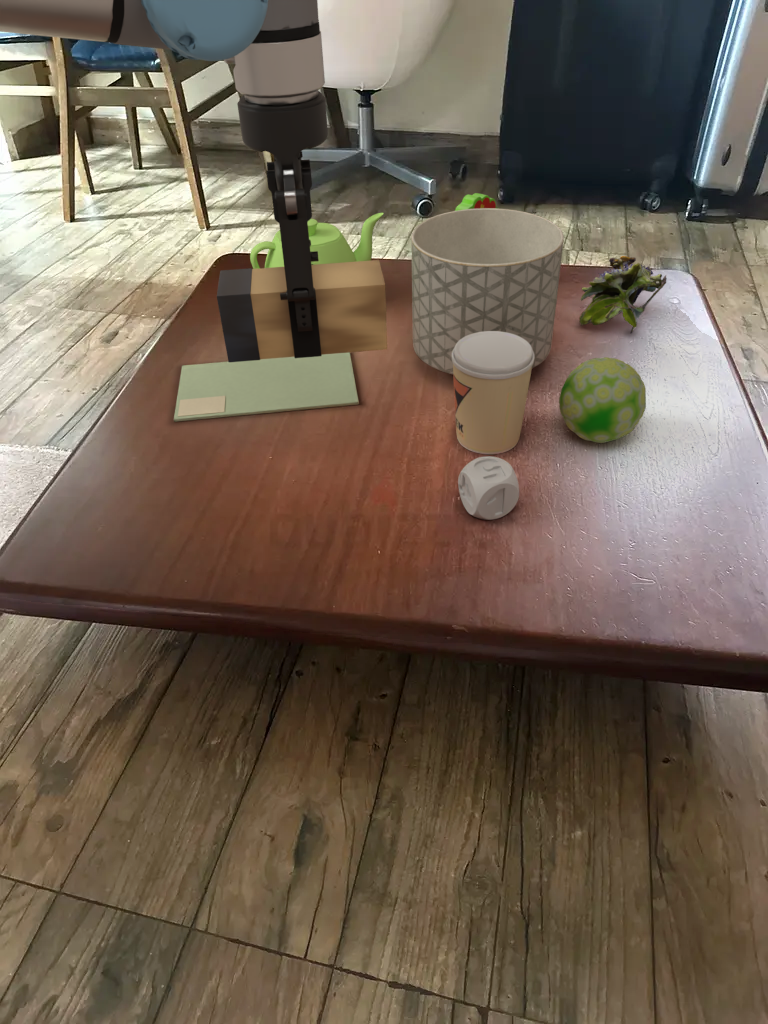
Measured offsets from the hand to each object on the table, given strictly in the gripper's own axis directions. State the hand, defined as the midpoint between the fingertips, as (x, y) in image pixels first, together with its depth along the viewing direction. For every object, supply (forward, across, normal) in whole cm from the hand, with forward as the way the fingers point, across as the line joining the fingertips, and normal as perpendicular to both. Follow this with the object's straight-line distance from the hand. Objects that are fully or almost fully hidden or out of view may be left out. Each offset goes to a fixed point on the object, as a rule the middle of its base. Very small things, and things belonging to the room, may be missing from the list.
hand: (307, 339), depth 81 cm
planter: (+17, -22, +23) cm, 36 cm away
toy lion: (+17, -44, +25) cm, 53 cm away
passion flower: (+17, -30, +46) cm, 58 cm away
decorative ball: (+17, -2, +34) cm, 38 cm away
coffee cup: (+17, -4, +21) cm, 27 cm away
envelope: (+17, -20, -6) cm, 27 cm away
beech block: (0, 0, 0) cm, 0 cm away
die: (+17, +10, +18) cm, 27 cm away
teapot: (+17, -45, +2) cm, 48 cm away
